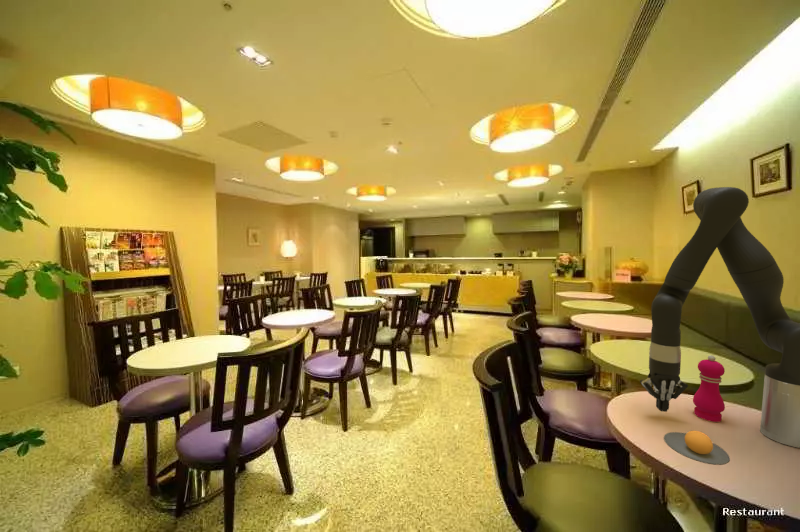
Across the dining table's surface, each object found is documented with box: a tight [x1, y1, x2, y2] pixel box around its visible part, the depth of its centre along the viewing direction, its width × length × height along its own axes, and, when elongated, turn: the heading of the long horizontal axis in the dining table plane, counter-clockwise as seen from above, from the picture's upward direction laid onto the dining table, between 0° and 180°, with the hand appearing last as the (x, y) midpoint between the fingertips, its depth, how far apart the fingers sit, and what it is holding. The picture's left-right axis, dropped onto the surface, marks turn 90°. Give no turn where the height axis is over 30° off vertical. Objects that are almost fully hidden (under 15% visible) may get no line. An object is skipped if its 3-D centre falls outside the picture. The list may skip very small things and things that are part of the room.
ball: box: [685, 430, 713, 454], centre depth 84 cm, size 6×6×6 cm
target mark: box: [663, 431, 730, 465], centre depth 86 cm, size 13×13×1 cm
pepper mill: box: [692, 354, 726, 423], centre depth 99 cm, size 7×7×20 cm
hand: (662, 410), depth 99 cm, fingers closed
